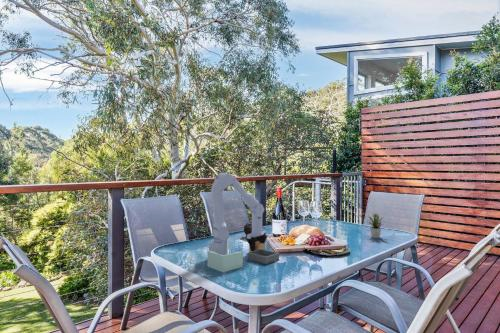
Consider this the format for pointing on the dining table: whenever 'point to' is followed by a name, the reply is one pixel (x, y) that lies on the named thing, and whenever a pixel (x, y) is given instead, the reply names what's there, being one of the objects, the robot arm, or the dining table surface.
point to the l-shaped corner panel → (225, 261)
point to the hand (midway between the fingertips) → (257, 249)
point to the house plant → (375, 226)
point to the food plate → (332, 251)
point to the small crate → (258, 246)
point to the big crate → (263, 256)
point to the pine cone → (249, 230)
